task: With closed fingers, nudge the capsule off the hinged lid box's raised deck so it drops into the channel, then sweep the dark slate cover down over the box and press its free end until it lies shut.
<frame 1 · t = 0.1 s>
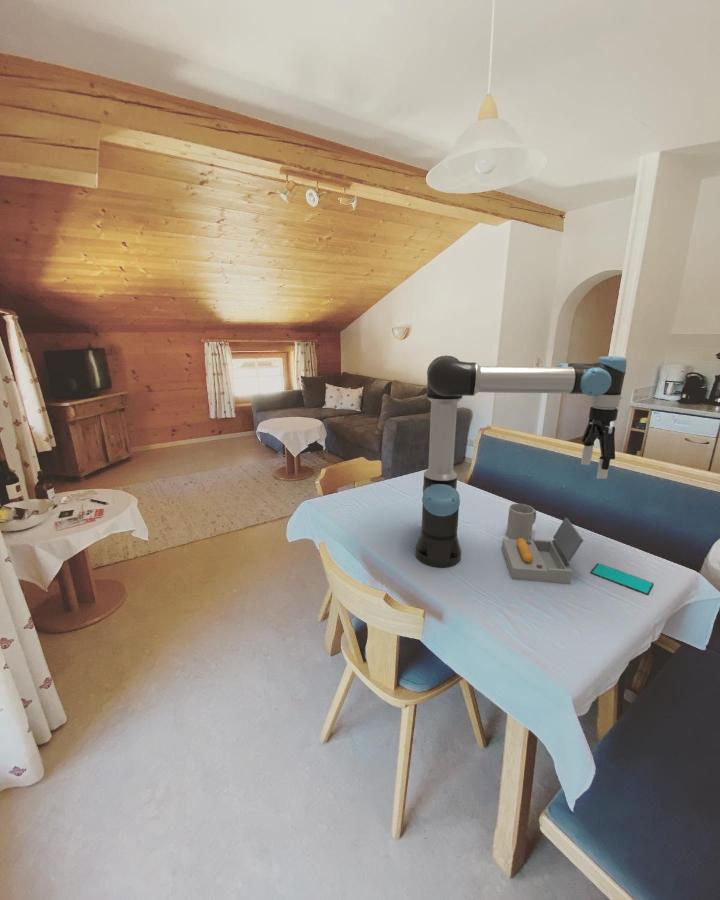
hand: (593, 471, 129), 28 cm above the table, fingers open, 13 cm apart
hinged lid box: (538, 564, 126), on the table
cover: (566, 541, 122), point 9 cm above the table, hinge at 110.0°
capsule: (524, 549, 125), point 5 cm above the table, touching hinged lid box
mug: (521, 534, 145), on the table
smartphone: (620, 580, 119), on the table
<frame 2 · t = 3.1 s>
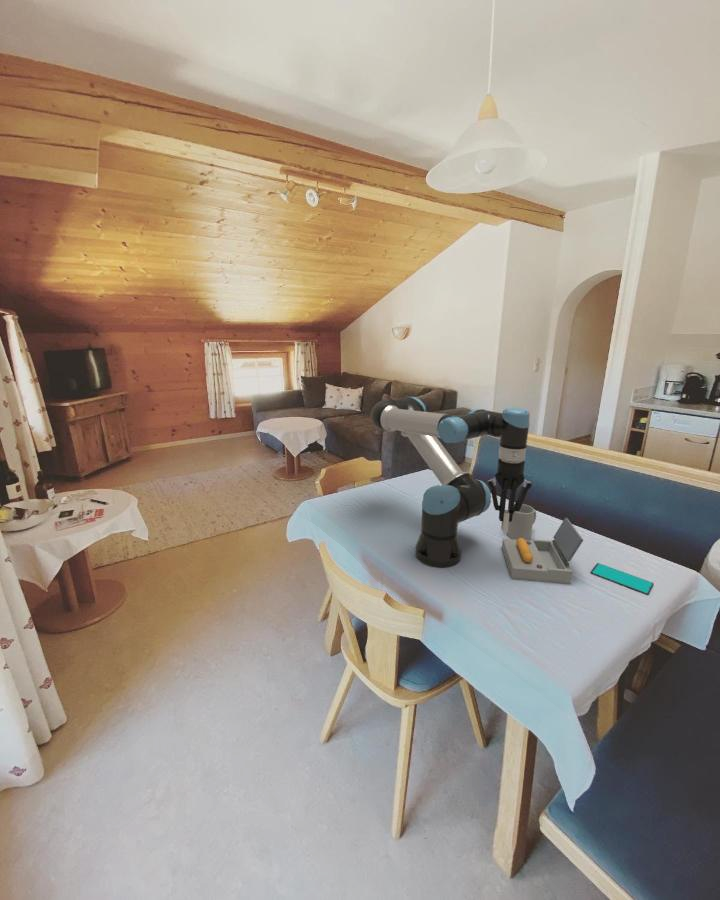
hand: (504, 529, 124), 12 cm above the table, fingers closed
nothing on the table moved.
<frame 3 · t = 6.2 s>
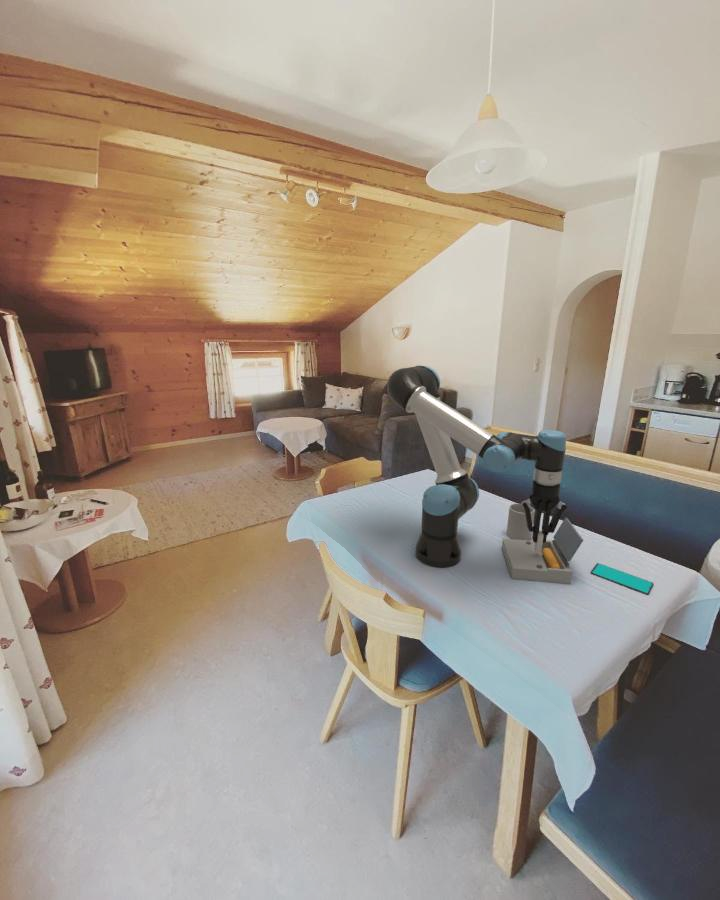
hand: (537, 550, 125), 5 cm above the table, fingers closed
capsule: (551, 560, 125), point 2 cm above the table, tilted 7°, touching hinged lid box
everything else where it was.
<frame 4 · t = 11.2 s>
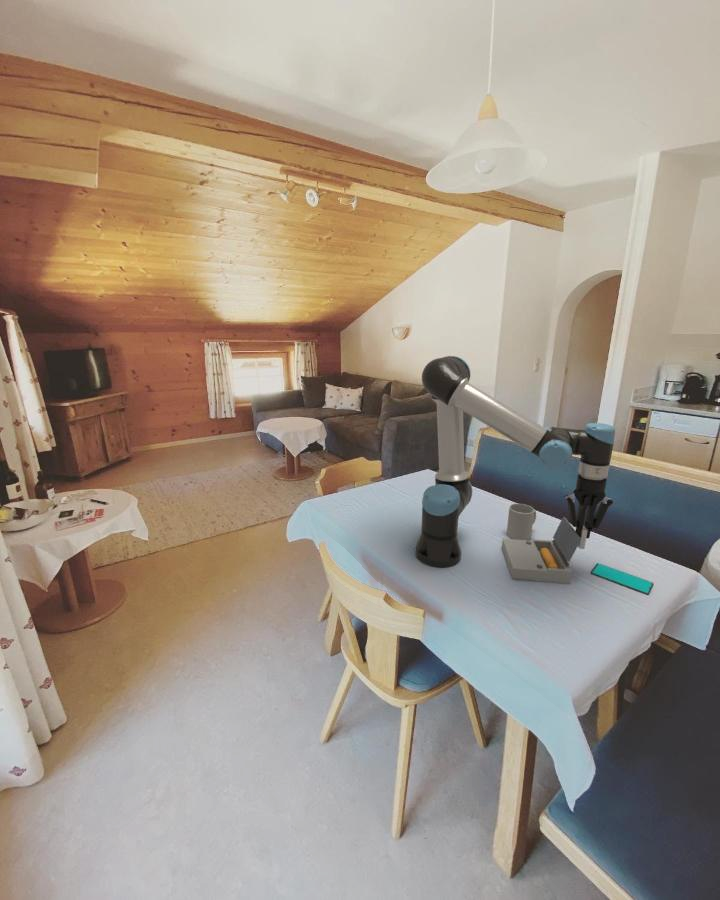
hand: (580, 546, 122), 8 cm above the table, fingers closed
cover: (565, 540, 122), point 9 cm above the table, hinge at 105.9°, touching gripper
capsule: (548, 559, 125), point 2 cm above the table, tilted 34°, touching hinged lid box
everything else where it was.
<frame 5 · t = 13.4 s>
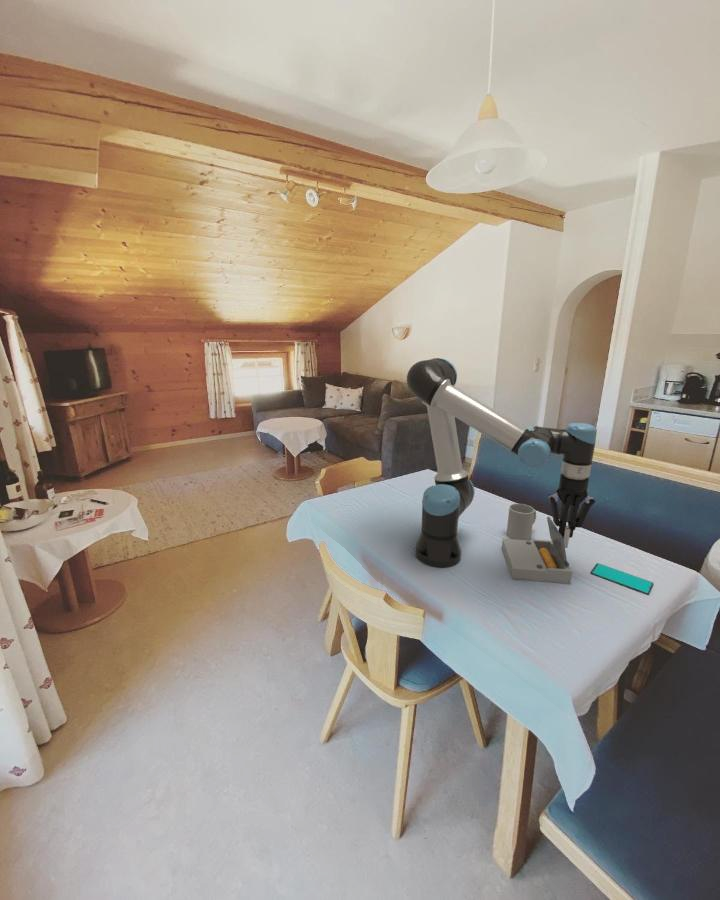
hand: (563, 545, 123), 8 cm above the table, fingers closed
cover: (557, 540, 123), point 9 cm above the table, hinge at 74.6°, touching gripper
capsule: (547, 559, 125), point 2 cm above the table, tilted 46°, touching hinged lid box
everything else where it was.
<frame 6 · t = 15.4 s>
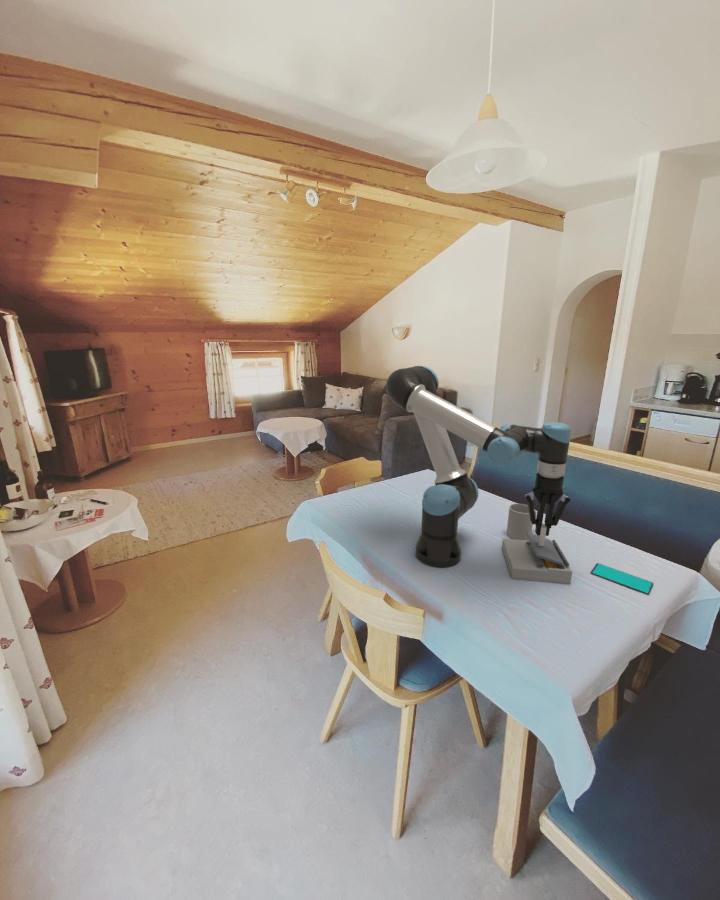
hand: (540, 543, 124), 8 cm above the table, fingers closed
cover: (546, 548, 124), point 6 cm above the table, hinge at 17.7°, touching gripper
capsule: (546, 559, 125), point 2 cm above the table, tilted 56°, touching hinged lid box
everything else where it was.
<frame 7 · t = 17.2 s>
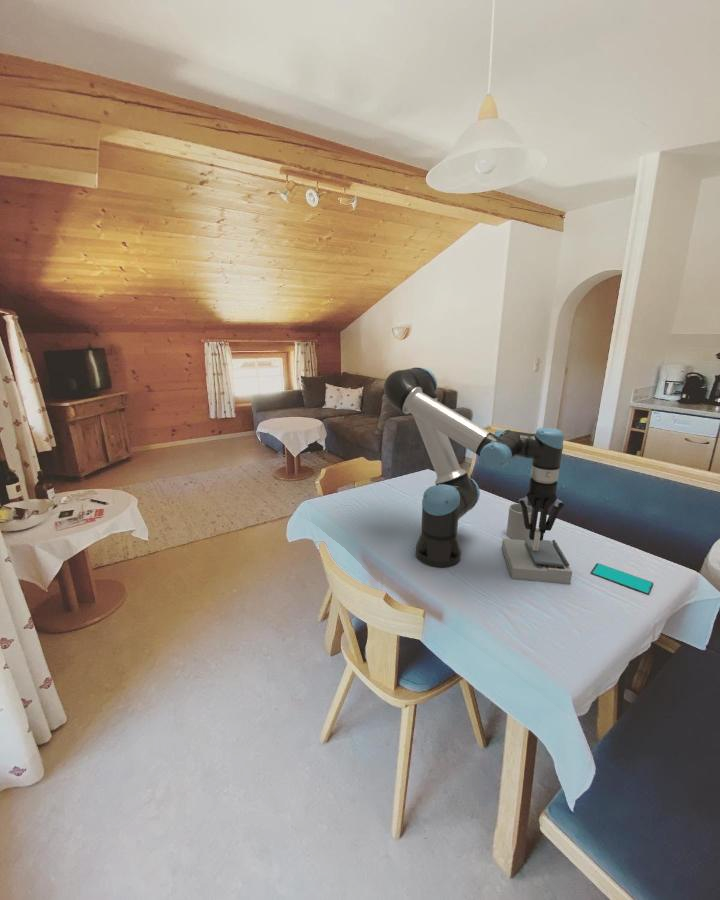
hand: (534, 548, 125), 6 cm above the table, fingers closed
cover: (545, 551, 124), point 5 cm above the table, hinge at 3.4°, touching gripper
capsule: (545, 559, 125), point 2 cm above the table, tilted 66°, touching hinged lid box
everything else where it was.
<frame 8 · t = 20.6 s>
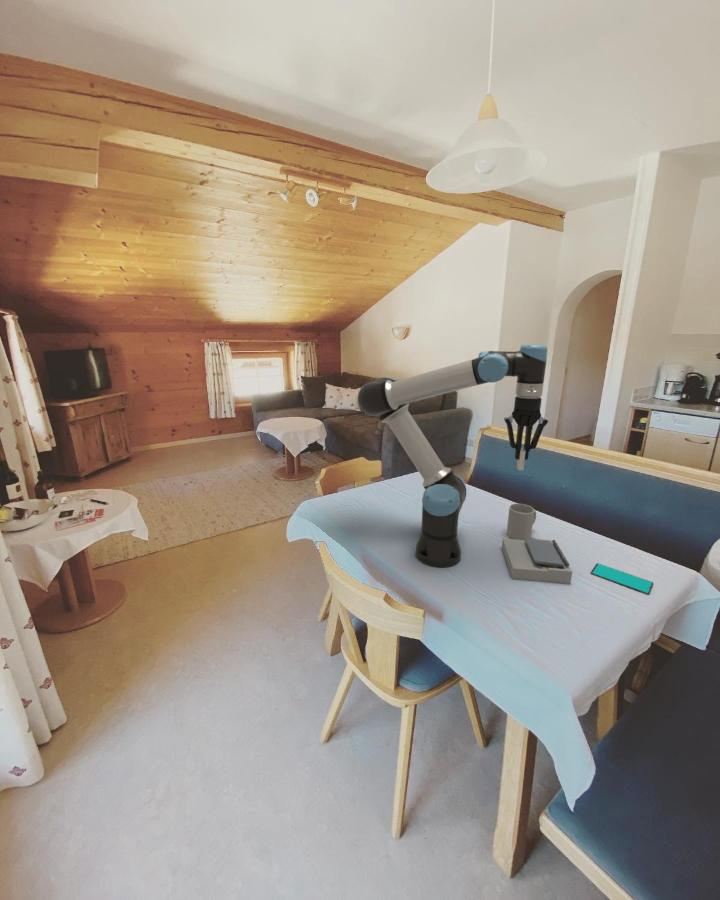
hand: (520, 468, 127), 29 cm above the table, fingers closed
cover: (545, 551, 124), point 5 cm above the table, hinge at 3.3°
capsule: (544, 559, 125), point 2 cm above the table, tilted 79°, touching hinged lid box
everything else where it was.
at the end: capsule inside the target area (1.2 cm from its centre), point 2.1 cm above the table; cover at +3° (first picture: +110°) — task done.
